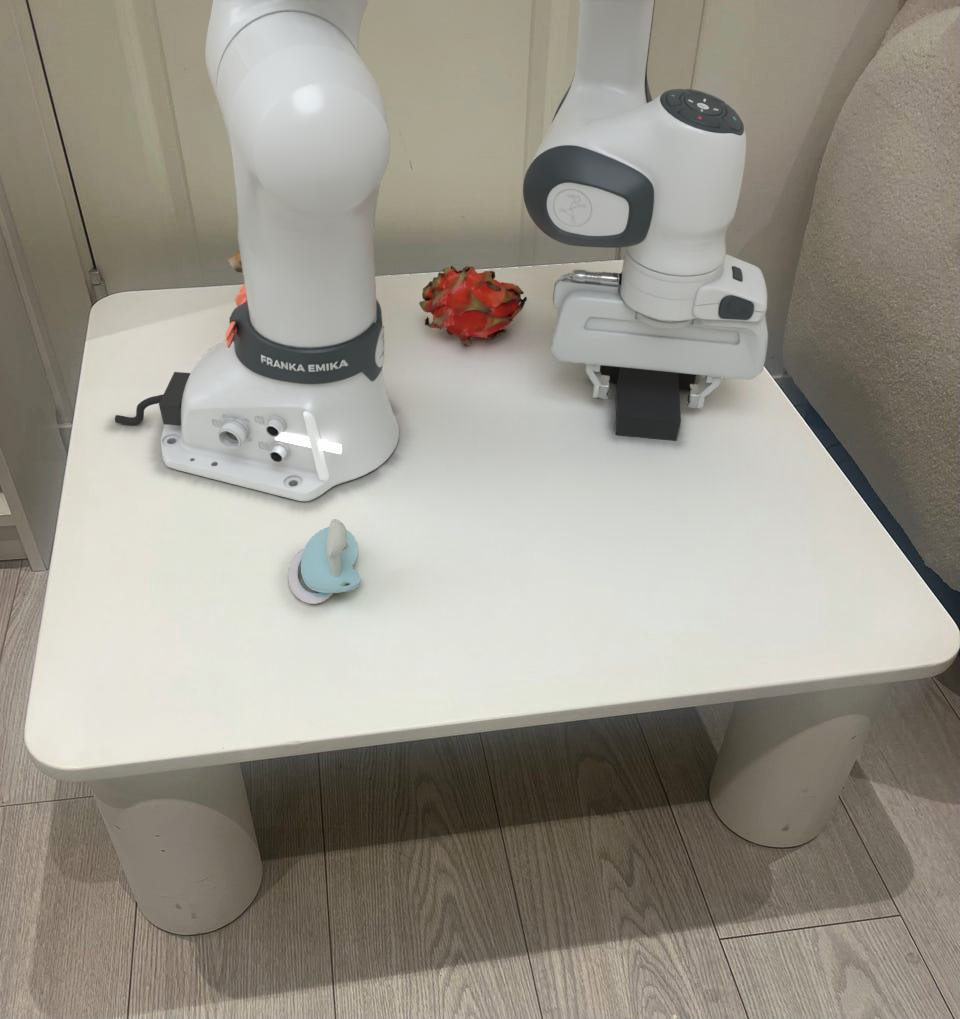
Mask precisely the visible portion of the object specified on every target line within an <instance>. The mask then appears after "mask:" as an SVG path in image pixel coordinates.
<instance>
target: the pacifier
mask: <svg viewBox="0 0 960 1019" xmlns="http://www.w3.org/2000/svg"><path fill="white" fill-rule="evenodd" d="M346 546H347V548H346ZM345 548H346V549H345ZM358 554H359V546H358V542H357V539H356V537H355V536H354V535H353V533H352V532H351V531H349V530H348V529H347V528H346V526H345V524H344V523H343V522H342V521H341V520H339V519H336V518H332V519H331V520H330V523H329V526H328V527H325V528H323V529H320V530H319V531H318V532H316V533H315V534H313V535H312V536H311V537H310V539H309V540H308V542H307V543H306V545H305V547H304V548H303V549H301V550H300V551H298V552H297V553H296V554H294V557H293V558H292V560H291V561H290V563H289V568H288V574H287V579H288V585H289V588H290V590H291V592H292V593H293V595H294V596H295V597H296V598H297V599H298V600H300V601H301V602H303V603H306V604H308V605H316V604H321V603H324V602H326V601H327V600H329V599H330V597H332V596H333V595H334V594H338V593H339V594H340V593H346V592H349V591H353V590H355V589H356V588H358V587H359V586H360V583H361V575H360V574H359V573H358V571H357V570H355V569H354V566H355V564H356V563H357V559H358ZM299 573H301V577H302V580H303V583H304V584H305V585H306V587H308V588H309V589H310V590H311V591H313V592H311V591H308V590H307V589H305V588H304V587H303V585H302V584H301V582H300V579H299ZM346 584H348V585H346Z"/></svg>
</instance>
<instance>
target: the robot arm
mask: <svg viewBox="0 0 960 1019" xmlns="http://www.w3.org/2000/svg"><path fill="white" fill-rule="evenodd" d="M369 1H370V0H212V5H211V11H210V17H209V21H208V25H207V30H206V36H205V47H204V49H205V51H204V52H205V54H204V55H205V56H204V58H205V67H206V71H207V75H208V78H209V81H210V85H211V86H212V90H213V92H214V96H215V98H216V101H217V103H218V107H219V110H220V113H221V117H222V121H223V124H224V127H225V131H226V135H227V139H228V143H229V148H230V152H231V158H232V165H233V166H232V167H233V176H234V184H235V196H236V197H235V198H236V209H237V211H236V212H237V242H238V250H239V249H240V256H241V263H242V269H243V273H242V276H243V282H244V283H243V284H242V286H240V289H239V293H238V294H237V295H236V296H235V304H236V307H235V308H234V309H233V311H232V312H231V314H230V316H229V318H228V319H229V320H228V321H229V325H228V327H227V330H226V332H225V336H224V337H225V338H224V339H225V340H223V341H221V342H219V343H217V344H215V345H213V346H212V347H211V348H209V349H208V350H206V352H205V353H203V355H202V356H201V357H200V359H198V361H197V362H196V364H195V365H194V367H193V368H192V371H191V372H181V371H180V372H179V371H173V374H172V375H171V378H170V380H169V382H168V384H167V386H166V389H165V390H164V393H163V394H158V395H153V396H150V397H147V398H145V399H143V400H142V401H140V402H139V403H138V404H137V405H136V411H135V413H136V415H135V416H134V417H132V416H131V417H130V416H124V415H121V414H120V415H119V414H116V415H115V416H114V422H115V423H116V424H122V425H128V426H135V425H139V424H141V423H142V422H143V420H144V418H145V409H146V408H148V407H150V406H152V405H153V406H154V405H157V404H158V408H159V411H160V416H161V419H162V420H161V421H162V424H163V428H162V433H161V437H160V449H161V457H162V460H163V463H164V464H165V466H166V467H167V468H170V469H172V470H176V471H180V472H183V473H187V474H192V475H196V476H199V477H204V478H207V479H212V480H215V481H218V482H223V483H227V484H232V485H235V486H239V487H241V488H246V489H250V490H254V491H259V492H262V493H266V494H270V495H275V496H278V497H283V498H286V499H290V500H294V501H296V502H297V501H298V502H310V501H313V500H315V499H317V498H319V497H320V496H322V495H324V494H325V493H326V492H328V491H329V490H330V489H332V488H333V487H336V486H338V485H340V484H343V483H347V482H349V481H354V480H356V479H359V478H361V477H363V476H366V475H368V474H370V473H371V472H373V471H375V470H376V469H378V468H379V467H381V466H382V465H384V463H385V462H387V460H388V459H389V458H390V457H391V456H392V454H393V453H394V451H395V450H396V448H397V446H398V443H399V439H400V426H399V423H398V420H397V417H396V415H395V414H394V411H393V408H392V406H391V401H390V398H389V395H388V391H387V387H386V382H385V377H384V373H383V367H384V364H385V356H386V346H385V342H386V341H385V326H384V325H383V316H382V315H383V314H382V307H381V305H380V302H379V300H378V299H377V285H376V284H377V282H376V261H375V260H376V259H375V220H376V213H377V207H378V200H379V194H380V189H381V188H380V187H381V182H382V180H383V178H384V176H385V174H386V171H387V168H388V165H389V161H390V154H391V138H390V129H389V123H388V117H387V116H388V115H387V110H386V107H385V104H384V103H385V102H384V98H383V95H382V92H381V90H380V88H379V84H378V83H377V82H376V80H375V78H374V77H373V75H372V74H371V72H370V70H369V69H368V67H367V65H366V63H364V61H363V59H362V58H361V56H360V55H361V54H360V46H359V43H360V32H361V31H360V30H361V25H362V21H363V18H364V14H365V11H366V9H367V6H368V4H369ZM655 3H656V0H579V8H578V9H579V10H578V25H577V29H578V30H577V39H576V40H577V42H576V43H577V44H576V57H575V58H576V59H575V69H574V70H575V71H574V74H573V78H572V80H571V83H570V85H569V87H568V89H567V90H566V91H565V93H564V95H563V96H562V99H561V100H560V102H559V104H558V106H557V109H556V111H555V113H554V116H553V118H552V121H551V124H550V125H549V128H548V130H547V132H546V134H545V136H544V137H543V139H542V141H541V142H540V145H539V147H537V150H536V152H535V154H534V156H533V158H532V160H531V162H530V164H529V166H528V168H527V169H526V173H525V175H524V178H523V184H522V195H523V202H524V206H525V208H526V211H527V213H528V215H529V217H530V219H531V220H532V222H533V223H534V224H535V226H536V227H537V228H538V229H539V230H540V231H541V232H542V233H544V234H545V235H546V236H547V237H549V238H550V239H552V240H554V241H556V242H558V243H560V244H564V245H567V246H572V247H573V246H574V247H585V248H605V249H607V248H609V249H612V248H624V255H623V262H622V266H621V272H620V273H619V272H610V271H609V272H608V271H588V270H585V269H573V270H571V272H570V273H569V272H568V273H565V274H563V275H561V276H560V277H559V278H557V279H556V281H555V282H554V286H553V294H552V302H553V305H554V307H555V308H556V310H557V313H556V316H555V321H554V327H553V332H552V340H551V348H550V349H551V350H550V351H551V353H552V354H553V355H554V357H555V358H556V359H557V361H559V362H563V363H564V362H565V363H574V364H584V365H585V373H586V374H587V376H588V378H589V380H590V382H591V384H592V385H593V387H592V388H593V390H592V398H594V399H595V398H596V399H603V400H604V399H605V400H607V399H608V396H609V390H610V382H609V380H610V376H606V375H602V374H601V372H600V365H604V366H615V367H625V368H635V369H645V370H655V371H665V372H675V373H685V374H695V375H696V376H697V375H698V376H704V377H703V378H702V379H701V381H700V382H698V383H697V384H696V383H695V384H690V386H689V390H688V392H687V396H686V402H687V404H686V407H687V408H695V409H703V407H704V403H705V399H706V397H708V396H709V395H710V394H711V393H712V392H714V391H715V389H716V388H718V387H719V386H720V385H721V382H722V378H727V379H734V380H735V379H736V380H745V381H751V380H753V379H755V378H757V377H758V376H759V375H760V374H762V372H763V371H764V367H765V363H766V357H767V353H768V344H769V332H768V331H769V330H768V323H767V316H766V312H767V310H768V289H767V285H766V280H765V277H764V274H763V272H762V270H761V269H760V268H759V267H758V266H757V265H754V264H752V263H749V262H746V261H744V260H743V259H739V258H737V257H734V256H732V255H730V254H727V243H726V235H727V232H728V228H729V227H730V225H731V223H732V221H733V220H734V218H735V215H736V212H737V208H738V204H739V199H740V194H741V190H742V184H743V181H744V180H743V179H744V172H745V166H746V156H747V134H746V130H745V126H744V123H743V121H742V119H741V117H740V115H739V114H738V113H737V112H736V110H735V109H734V108H732V106H730V105H729V104H728V103H726V102H725V101H724V100H722V99H721V98H719V97H717V96H715V95H713V94H710V93H707V92H705V91H701V90H697V89H693V88H692V89H691V88H673V89H668V90H666V91H664V92H662V93H660V95H658V96H657V97H655V98H654V99H653V98H652V94H651V91H650V90H651V89H650V87H649V81H648V62H649V53H650V45H651V37H652V28H653V20H654V11H655Z"/></svg>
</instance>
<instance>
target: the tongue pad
mask: <svg viewBox="0 0 960 1019" xmlns="http://www.w3.org/2000/svg"><path fill="white" fill-rule="evenodd" d="M615 387H616V393H615V394H616V396H615V397H616V398H615V404H616V405H615V436H623V437H634V438H635V437H636V438H644V439H654V440H655V439H656V440H665V441H677V440H678V436H679V431H680V426H681V422H682V419H681V418H682V417H681V405H680V404H681V402H680V401H681V400H680V389H679V380H678V373H675V372H665V371H655V370H645V369H635V368H625V367H620V368H619V374H618V380H617V383H616V386H615Z"/></svg>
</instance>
